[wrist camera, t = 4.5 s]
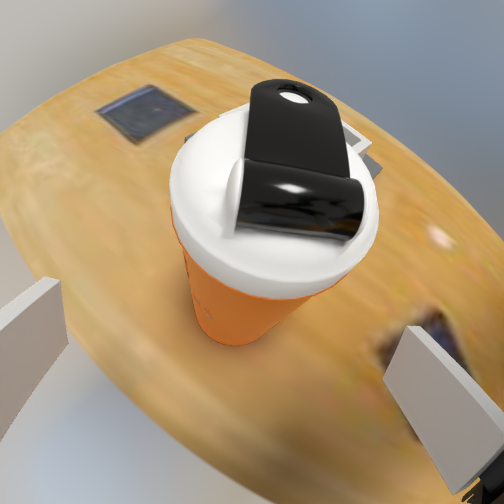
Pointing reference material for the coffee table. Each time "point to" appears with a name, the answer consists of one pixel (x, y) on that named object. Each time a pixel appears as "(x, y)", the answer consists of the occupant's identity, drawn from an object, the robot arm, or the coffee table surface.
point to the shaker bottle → (269, 209)
